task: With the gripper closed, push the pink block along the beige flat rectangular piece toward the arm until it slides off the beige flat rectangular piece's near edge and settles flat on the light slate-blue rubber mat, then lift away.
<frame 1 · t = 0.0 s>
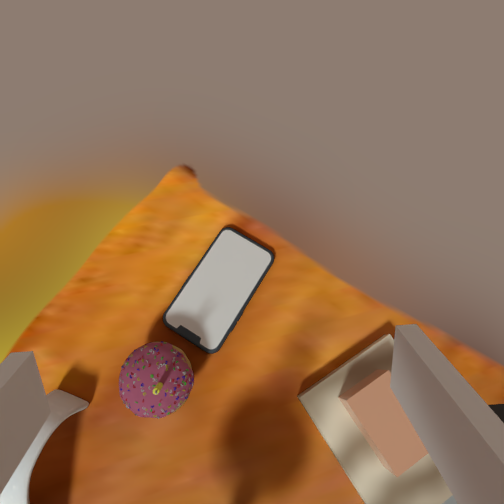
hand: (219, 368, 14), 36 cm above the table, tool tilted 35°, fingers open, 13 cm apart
pink block: (380, 416, 45), point 2 cm above the table, touching beige flat rectangular piece
spoon rest: (28, 493, 44), on the table
phone case: (220, 289, 52), on the table
cupcake: (164, 377, 48), on the table
beige flat rectangular piece: (384, 428, 46), on the table
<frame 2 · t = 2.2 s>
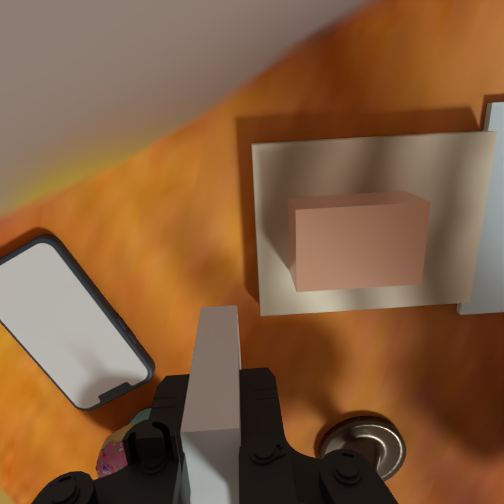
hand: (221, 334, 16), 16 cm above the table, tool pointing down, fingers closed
pink block: (345, 232, 29), point 2 cm above the table, touching beige flat rectangular piece
phone case: (73, 322, 34), on the table
candlestick: (359, 448, 40), on the table
cupcake: (156, 425, 38), on the table
beige flat rectangular piece: (362, 223, 31), on the table
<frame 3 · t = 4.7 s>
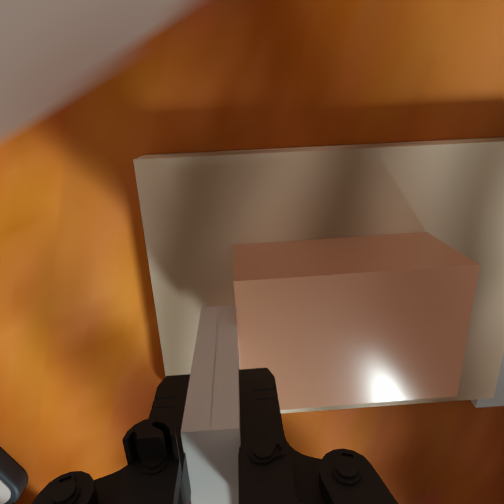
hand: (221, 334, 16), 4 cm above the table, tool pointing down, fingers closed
pink block: (329, 296, 18), point 2 cm above the table, touching beige flat rectangular piece, gripper
beige flat rectangular piece: (329, 279, 20), on the table
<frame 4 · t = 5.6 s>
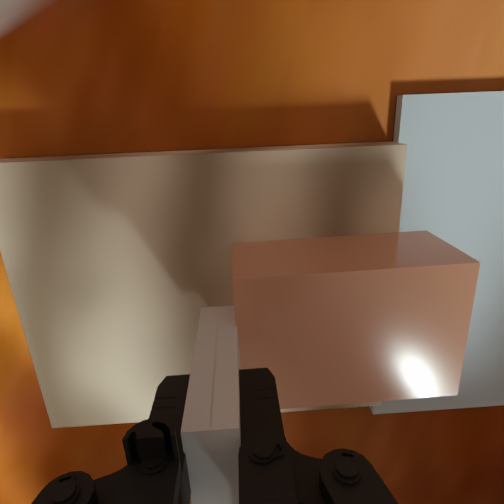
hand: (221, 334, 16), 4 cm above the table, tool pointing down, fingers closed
pink block: (328, 295, 18), point 2 cm above the table, touching gripper
beige flat rectangular piece: (210, 285, 20), on the table
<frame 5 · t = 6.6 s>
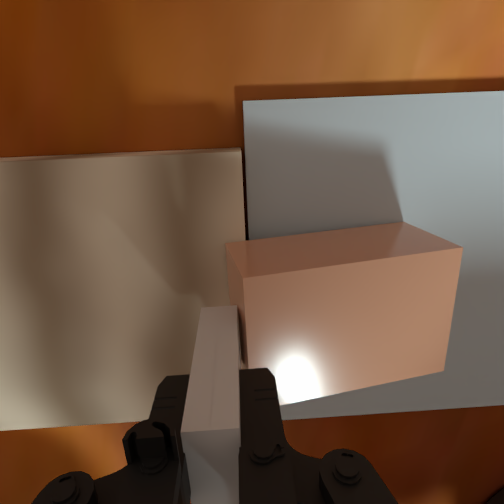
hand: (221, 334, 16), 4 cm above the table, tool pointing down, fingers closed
pink block: (317, 288, 19), point 1 cm above the table, tilted 10°, touching gripper
mat: (413, 273, 20), on the table
beige flat rectangular piece: (75, 292, 20), on the table
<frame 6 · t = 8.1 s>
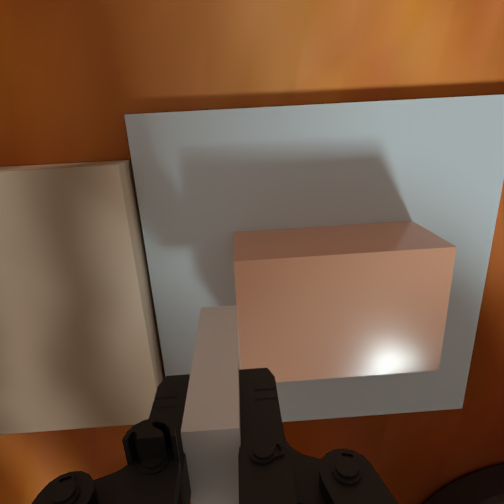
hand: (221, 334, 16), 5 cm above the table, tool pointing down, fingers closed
pink block: (322, 281, 20), point 1 cm above the table, touching gripper, mat
mat: (319, 281, 20), on the table
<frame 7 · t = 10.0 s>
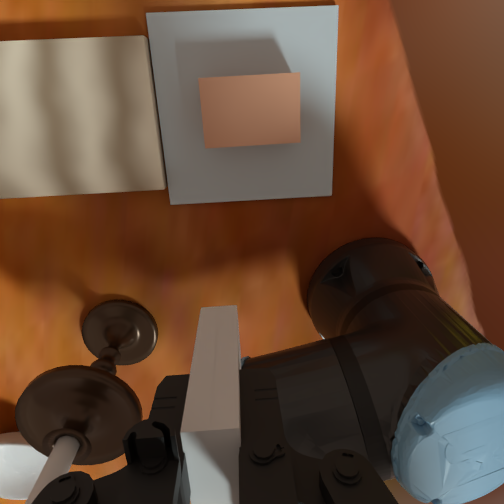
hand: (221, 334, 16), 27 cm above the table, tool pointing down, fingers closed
pink block: (249, 110, 38), point 1 cm above the table, touching mat
candlestick: (122, 330, 47), on the table
mat: (247, 112, 38), on the table
beige flat rectangular piece: (68, 121, 38), on the table
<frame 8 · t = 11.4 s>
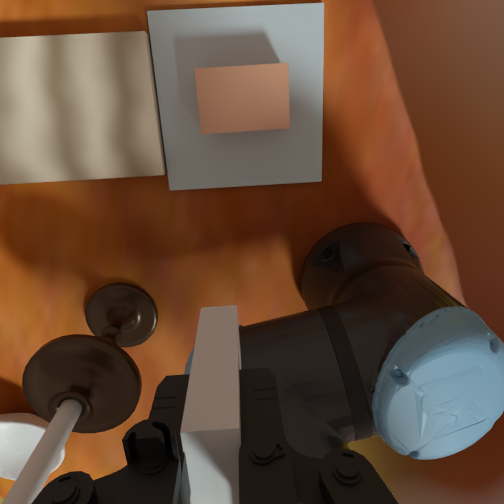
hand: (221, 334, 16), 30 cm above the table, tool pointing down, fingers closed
pink block: (242, 101, 40), point 1 cm above the table, touching mat
spoon rest: (1, 404, 54), on the table
candlestick: (123, 313, 49), on the table
mat: (241, 103, 41), on the table
beige flat rectangular piece: (75, 112, 41), on the table
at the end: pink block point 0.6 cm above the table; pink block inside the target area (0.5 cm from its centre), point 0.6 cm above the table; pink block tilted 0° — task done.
